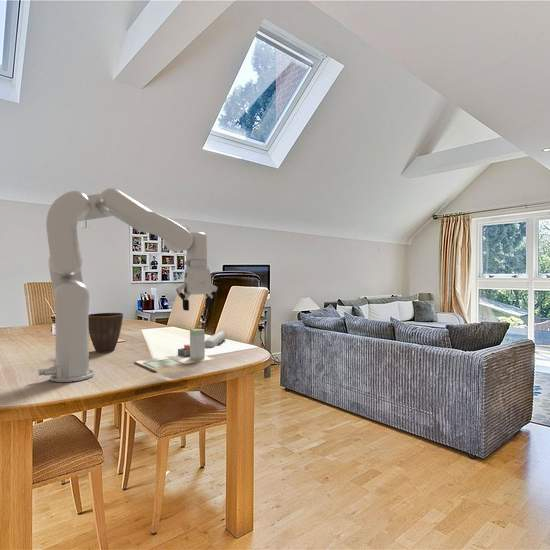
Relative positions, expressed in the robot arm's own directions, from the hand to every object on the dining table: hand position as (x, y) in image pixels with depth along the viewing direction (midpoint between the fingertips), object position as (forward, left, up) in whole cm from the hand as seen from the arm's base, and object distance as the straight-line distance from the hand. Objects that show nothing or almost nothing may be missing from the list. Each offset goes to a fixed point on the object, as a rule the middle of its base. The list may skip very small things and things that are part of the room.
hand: (197, 309), depth 148 cm
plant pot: (-20, +45, -20) cm, 53 cm away
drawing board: (-8, +3, -20) cm, 21 cm away
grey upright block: (0, 0, -19) cm, 19 cm away
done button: (0, +8, -17) cm, 19 cm away
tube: (+24, +25, -20) cm, 40 cm away
